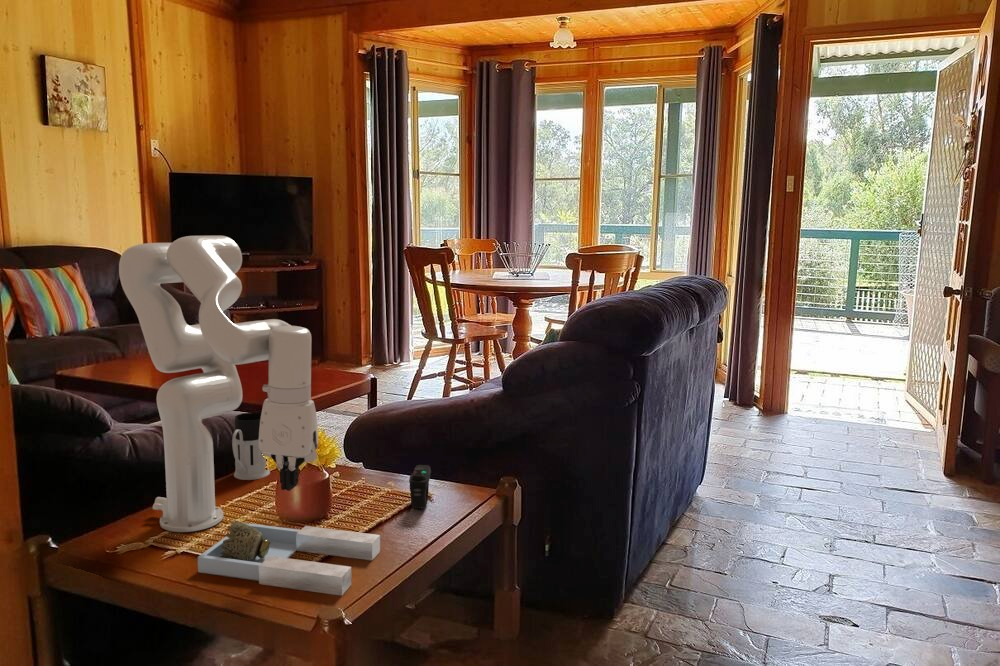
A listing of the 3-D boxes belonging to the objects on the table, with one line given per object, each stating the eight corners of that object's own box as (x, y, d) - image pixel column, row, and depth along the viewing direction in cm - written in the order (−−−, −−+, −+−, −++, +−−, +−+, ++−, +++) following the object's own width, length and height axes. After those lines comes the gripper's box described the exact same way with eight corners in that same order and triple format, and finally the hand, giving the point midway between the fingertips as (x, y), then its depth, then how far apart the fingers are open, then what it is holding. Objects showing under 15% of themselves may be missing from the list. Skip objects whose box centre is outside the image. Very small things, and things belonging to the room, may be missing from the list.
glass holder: (275, 469, 195) (274, 412, 193) (252, 488, 181) (250, 428, 179) (242, 467, 196) (241, 411, 193) (217, 486, 182) (215, 426, 179)
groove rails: (259, 583, 136) (258, 565, 135) (305, 542, 153) (305, 525, 152) (342, 595, 132) (341, 577, 132) (380, 551, 150) (380, 535, 149)
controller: (407, 515, 168) (407, 472, 166) (414, 494, 180) (414, 454, 178) (426, 516, 168) (427, 473, 166) (432, 495, 180) (432, 455, 178)
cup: (266, 564, 148) (225, 554, 147) (277, 527, 148) (236, 517, 148) (258, 573, 140) (215, 562, 140) (270, 534, 141) (227, 523, 140)
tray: (198, 572, 139) (197, 557, 139) (245, 536, 155) (244, 522, 154) (262, 581, 137) (261, 565, 136) (303, 544, 152) (303, 530, 152)
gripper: (241, 394, 137) (242, 489, 140) (318, 403, 134) (316, 500, 137) (263, 384, 144) (263, 475, 147) (336, 393, 141) (334, 486, 144)
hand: (289, 487), depth 142 cm, fingers closed
